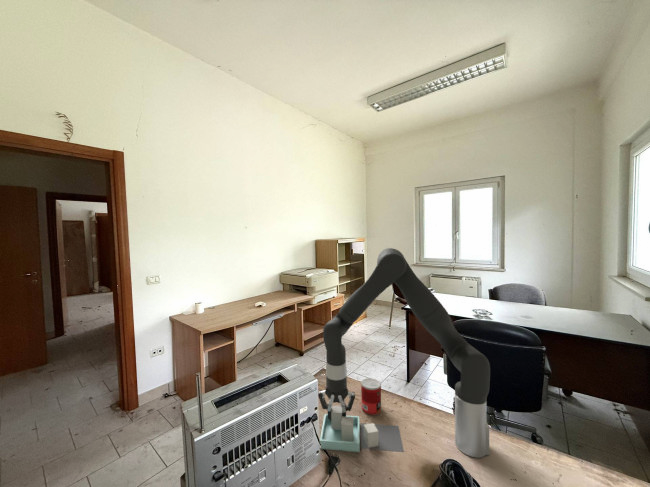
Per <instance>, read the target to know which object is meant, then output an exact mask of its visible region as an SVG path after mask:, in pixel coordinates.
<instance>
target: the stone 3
mask: <svg viewBox="0 0 650 487" xmlns="http://www.w3.org/2000/svg"><path fill="white" fill-rule="evenodd" d="M374 424H375V423H374V422H372V423H367V424H365V425H364V440H365V442H366V444H367V446H368V448H370V447H375V446H378V430H377V428H376V427H375V425H374Z"/></svg>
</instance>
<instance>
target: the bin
mask: <svg viewBox="0 0 650 487" xmlns="http://www.w3.org/2000/svg"><path fill="white" fill-rule="evenodd" d="M346 417H353V424H354V438H353V442H349V441H342V430H334V429H332V421H330V419H328V413H327V414H326V413H324V415H323V422H322V428H321V433H320V436H319V437H320V438H319V445H320V444H321V449H320V450H326V451H327V450H329V451H337V452H338V451H340V452H351V453H353V452H354V453H360V451H361V431H360V416H359V415H346Z"/></svg>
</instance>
